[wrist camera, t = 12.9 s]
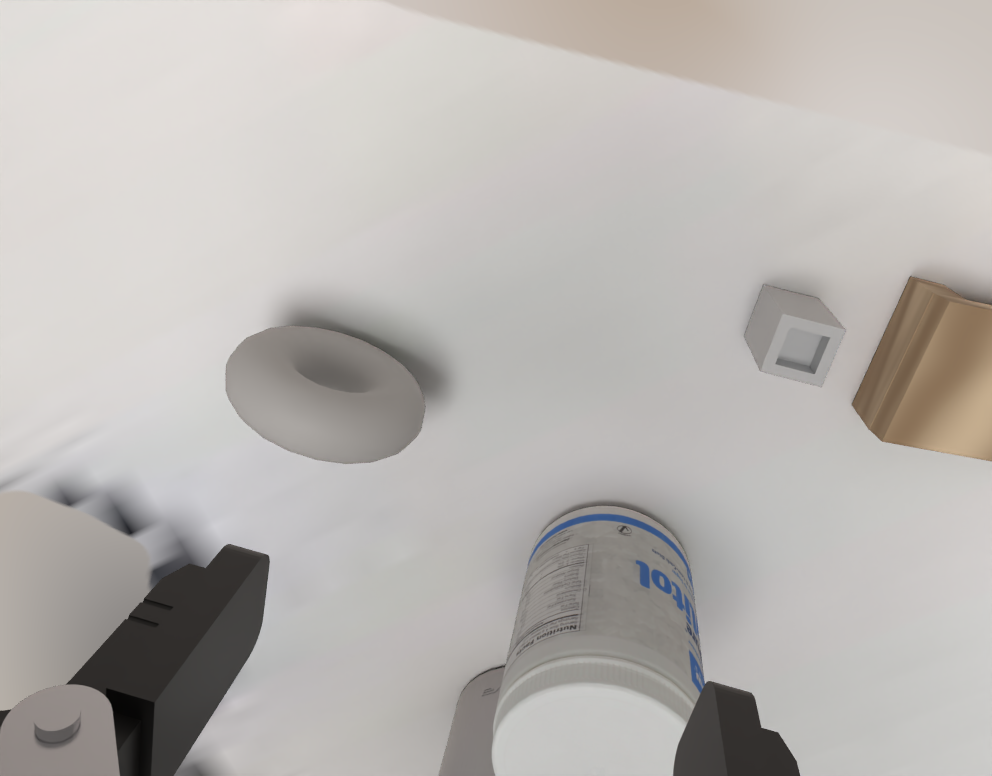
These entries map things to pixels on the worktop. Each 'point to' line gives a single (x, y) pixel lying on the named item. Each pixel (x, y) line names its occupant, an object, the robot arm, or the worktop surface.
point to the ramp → (932, 374)
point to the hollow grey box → (793, 336)
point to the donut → (324, 394)
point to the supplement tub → (600, 651)
